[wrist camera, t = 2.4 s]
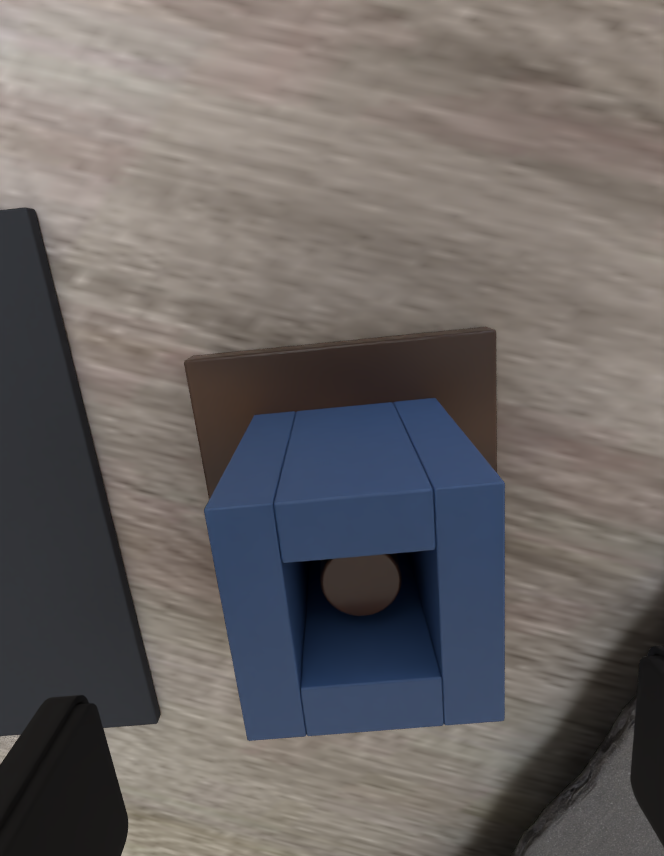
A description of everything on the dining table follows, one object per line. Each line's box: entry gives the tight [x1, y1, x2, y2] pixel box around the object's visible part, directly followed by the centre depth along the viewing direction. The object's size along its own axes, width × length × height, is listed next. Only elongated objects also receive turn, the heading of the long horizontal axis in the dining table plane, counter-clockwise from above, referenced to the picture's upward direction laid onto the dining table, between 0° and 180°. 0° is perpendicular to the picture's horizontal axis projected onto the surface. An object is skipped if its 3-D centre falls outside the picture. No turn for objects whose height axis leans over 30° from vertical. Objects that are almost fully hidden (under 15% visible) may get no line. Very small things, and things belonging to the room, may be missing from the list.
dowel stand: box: [184, 327, 497, 616], centre depth 16 cm, size 10×10×6 cm
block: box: [204, 398, 505, 741], centre depth 14 cm, size 6×6×7 cm
